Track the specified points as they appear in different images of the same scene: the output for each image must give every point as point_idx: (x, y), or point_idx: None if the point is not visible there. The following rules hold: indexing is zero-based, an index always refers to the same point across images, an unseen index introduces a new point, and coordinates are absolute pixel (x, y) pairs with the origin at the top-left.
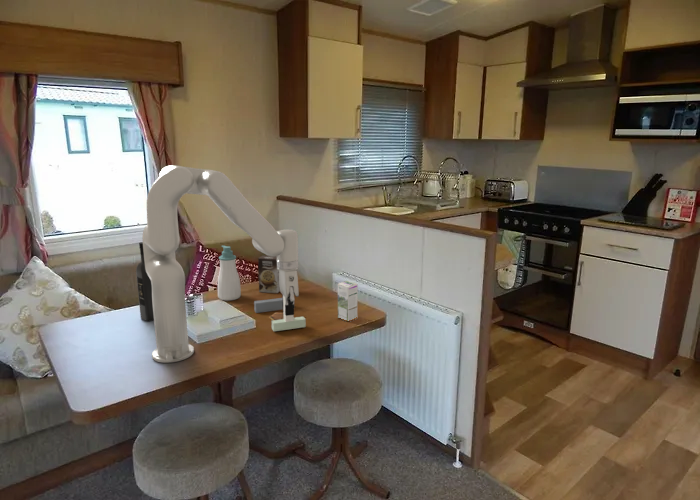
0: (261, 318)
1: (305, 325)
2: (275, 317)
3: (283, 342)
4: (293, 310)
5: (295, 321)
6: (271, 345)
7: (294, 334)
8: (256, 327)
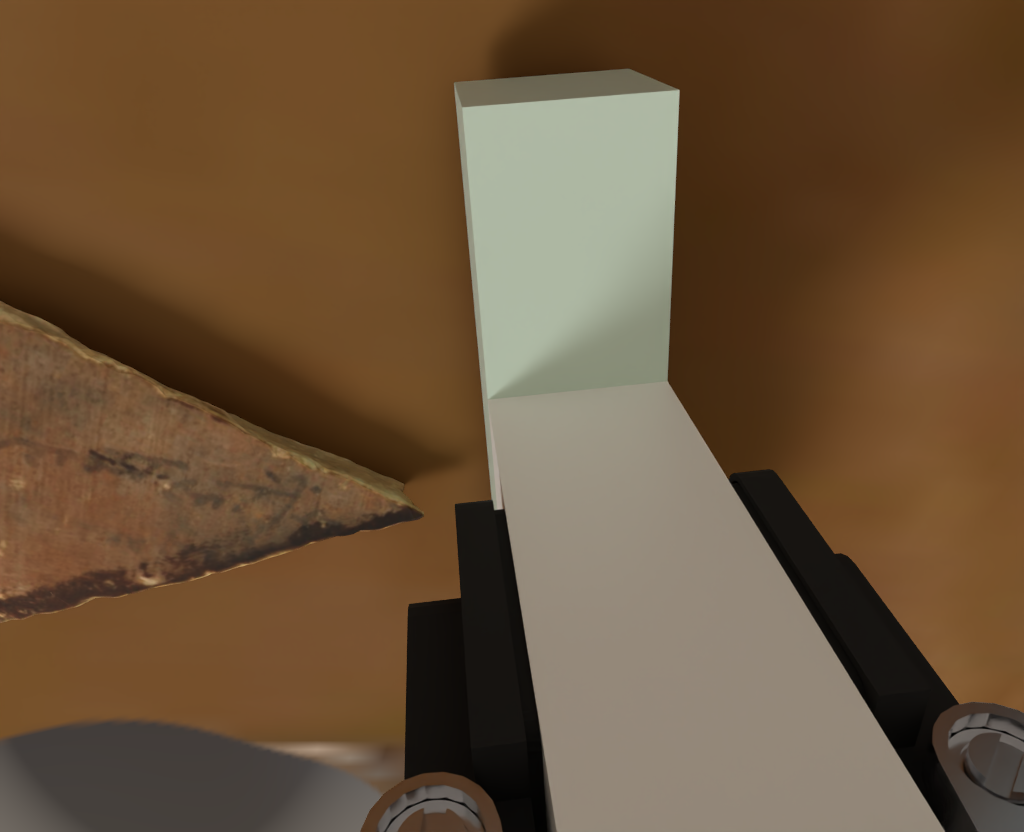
0: (7, 690)
1: (638, 75)
2: (80, 555)
3: (973, 500)
4: (816, 549)
5: (665, 337)
6: (967, 623)
7: (800, 324)
8: (360, 741)
